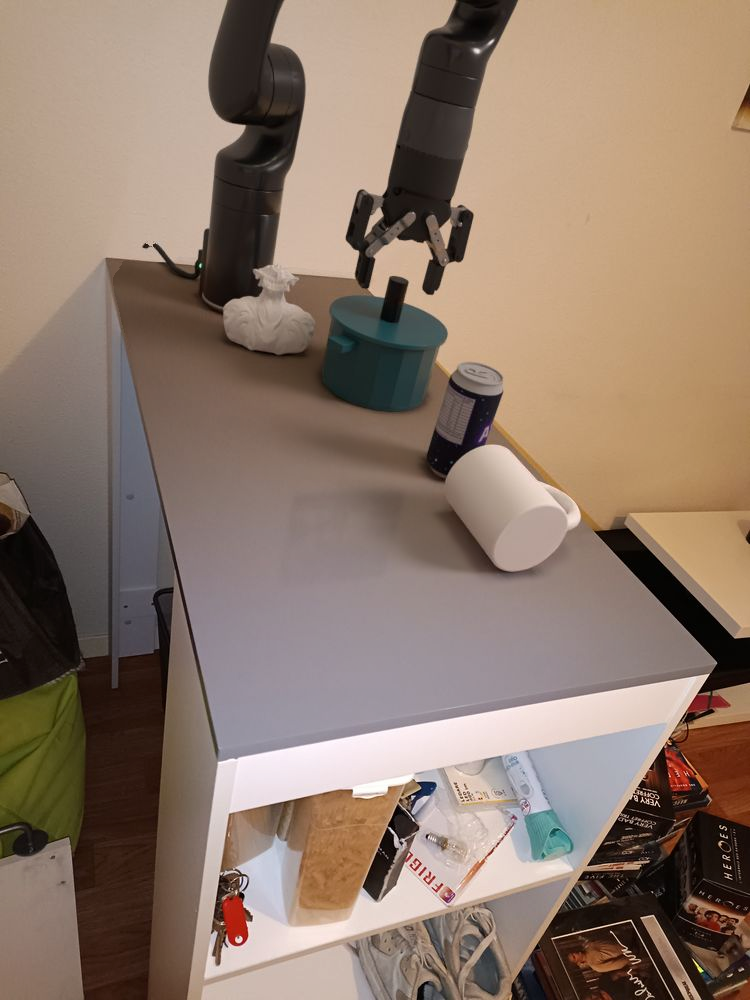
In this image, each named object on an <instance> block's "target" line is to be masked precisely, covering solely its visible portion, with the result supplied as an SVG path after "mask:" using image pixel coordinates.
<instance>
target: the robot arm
mask: <svg viewBox="0 0 750 1000" xmlns="http://www.w3.org/2000/svg"><path fill="white" fill-rule="evenodd" d="M285 1H286V0H226V3H225V6H224V10H223V13H222V18H221V20H220V24H219V27H218V29H217V32H216V33H217V34H216V37H215V40H214V43H213V48H212V50H211V51H212V52H211V56H210V60H209V67H208V76H207V79H208V80H207V89H208V96H209V101H210V103H211V107H212V109H213V111H214V112H215V114H216V115H217V116H218V117H219V118H220V119H221V120H222V121H224V122H226V123H229V124H231V125H238V126H239V125H240V126H245V127H244V129H243V132H242V133H241V135H240V136H239V137H238V138H237V139H236V140H235V141H233V142H231V143H229V144H228V145H227V146H225V147H222V148H221V149H220V150H219V151H218V152H217V153H216V155H215V158H214V159H215V160H214V167H213V168H214V169H213V181H212V192H211V204H210V214H209V225H208V228H207V227H206V228H205V229H204V230H203V239H202V248H201V249H200V248H199V249H198V252H197V259H196V261H195V262H194V272H193V273H190V272H187V271H185V270H183V269H181V268H179V267H178V266H177V265H176V264H175V263H174V261H173V260H172V259H171V258H170V256H169V255H168V254H167V252H166V251H165V250H164V249H163V248H162V246H160V245H159V244H158V243H157V242H155V244H153V247H154V248H153V247H152V246H149V245H148V244H146V242H145V243H143V245H142V247H141V248H142V249H144V250H145V249H146V250H148V249H149V248H153V249H155V250H156V251H157V252H158V254H159V256H161V258H162V260H163V261H164V262H165V263H166V264H167V266H169V268H170V270H171V271H172V272H174V273H175V274H178V275H179V276H181V277H183V278H185V279H187V280H188V279H189V280H196V279H198V278H199V284H198V296H200V297H201V301H202V303H203V304H204V305H205V306H206V307H208V308H210V309H211V310H212V311H216V312H218V313H220V314H221V313H222V314H223V313H224V311H223V307H224V306H225V305H226V304H227V303H228V302H229V301H231V300H232V299H240V298H242V297H246V296H252V297H259V295H260V294H261V293H262V290H263V287H262V286H258V284H259V282H260V278H259V279H256V278H255V277H256V276H255V274H254V273H253V269H257V270H258V269H260V268H264V267H266V266H267V265H273V264H274V262H275V253H276V249H277V248H276V247H277V239H278V232H279V226H280V218H281V211H282V204H283V197H284V191H285V183H286V178H287V175H288V174H289V172H290V171H291V169H292V166H293V164H294V160H295V157H296V151H297V146H298V141H299V136H300V131H301V127H302V121H303V115H304V111H305V104H306V96H307V95H306V93H307V91H306V90H307V83H306V74H305V70H304V69H305V68H304V66H303V62H302V61H301V58H300V57H299V56H298V54H297V53H296V52H295V51H294V50H293V49H291V48H290V47H288V46H286V45H283V44H279V43H275V42H272V37H273V33H274V30H275V28H276V27H275V26H276V23H277V20H278V17H279V14H280V12H281V9H282V7H283V5H284V3H285ZM518 2H519V0H455V2H454V4H453V8H452V10H451V12H450V14H449V16H448V19H447V20H446V23H445V24H444V25H443V26H441V27H437V28H434V29H430V30H429V31H427V33H426V34H425V35H424V37H423V39H422V42H421V44H420V45H421V46H420V49H419V53H418V56H417V61H416V66H415V69H414V74H413V78H412V83H411V86H410V91H409V95H408V98H407V100H406V104H405V106H404V109H403V113H402V116H401V121H400V124H399V125H400V126H399V130H398V134H397V139H396V142H395V146H394V151H393V156H392V161H391V165H390V169H389V173H388V174H389V175H388V179H387V186H386V189H385V191H384V192H383V193H382V195H378V194H375V193H374V194H373V193H369V191H367V190H365V189H363V188H361V189H359V190H358V191H357V193H356V196H355V199H354V203H353V207H352V211H351V214H350V217H349V222H348V225H347V230H346V233H345V237H344V238H345V242H347V243H348V245H350V247H351V248H352V249H353V250H354V251H357V252H358V257H357V262H356V267H355V271H354V278H355V280H356V281H357V284H358V286H359V287H360V288H361V289H366V290H368V289H369V288H370V285H371V282H372V277H373V272H374V268H375V264H376V260H377V259H376V258H375V255H377V253H379V251H381V250H382V249H383V248H384V247H385V246H388V245H390V244H391V243H392V242H393V241H394V240H395V239H396V238H397V240H399V241H403V242H407V241H413V242H416V243H419V244H424V243H426V245H427V246H428V249H429V252H430V254H431V257H432V259H428V263H427V267H426V271H425V274H424V278H423V282H422V285H421V290H422V291H423V292H424V293H425V295H428V296H434V294H435V291H436V292H437V291H438V290H439V289H440V287H441V284H442V279H443V276H444V273H445V269H446V267H447V265H449V264H451V263H461V262H463V260H464V259H465V254H466V250H467V245H468V242H469V236H470V234H471V233H470V232H471V229H472V226H473V221H474V218H475V215H474V214H475V213H473V211H472V210H470V209H469V208H468V207H466V206H465V205H463V204H458V205H457V206H456V207H455V206H452V205H451V204H452V199H453V197H454V196H455V193H456V190H457V186H458V182H459V180H460V179H459V178H460V175H461V171H462V168H463V164H464V160H465V157H466V154H467V151H468V148H469V142H470V138H471V134H472V130H473V125H474V118H475V112H476V107H477V104H478V101H479V100H478V99H479V96H480V93H481V89H482V85H483V81H484V79H485V75H486V70H487V66H488V63H489V60H490V58H491V57H492V55H493V53H494V51H495V50H496V48H497V46H498V44H499V43H500V40H501V38H502V36H503V34H504V32H505V31H506V28H507V26H508V24H509V21H510V19H511V17H512V15H513V13H514V12H515V9H516V8H517V5H518ZM378 209H380V211H381V214H382V217H381V218H379V219H378V221H376V222H375V224H374V225H372V227H371V229H370V231H369V232H368V233H366V232H367V230H368V225H369V221H370V218H371V216H373V215H374V214H376V211H377V210H378ZM448 221H449V223H450V225H451V229H450V234H449V238H448V242H447V247H446V244H445V241H444V238H443V236H442V233H441V230H440V229H441V228H442V227H443V226H444V225H445V224H446V223H447V222H448ZM156 243H157V244H156Z"/></svg>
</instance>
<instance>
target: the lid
mask: <svg viewBox="0 0 750 1000" xmlns="http://www.w3.org/2000/svg"><path fill="white" fill-rule="evenodd" d="M409 283H410V282H409V280H408V279H407V278H405V277H402V276H398V275H391V276H389V277H388V282H387V285H386V290H385V294H384V297H382V296H376V295H365V294H364V295H363V294H361V295H360V294H359V295H357V294H355V295H347V296H346V295H345V296H341V297H338V298H336V299H334V300H333V301H332V302H331V304H330V306H329V311H328V313H329V316H330V318H331V319H332V320H333V321H334V322H335V323H336V324H337V325H338V326H339V327H341V328H342V329H344V330H345V331H347V332H349V333H350V334H352V335H354V336H357V337H359V338H361V339H364V340H366V341H369V342H372V343H375V344H379V345H383V346H387V347H391V348H397V349H404V350H429V349H434V348H437V347H440V348H441V347H442V346H443V345H444V344H445V343H446V342H447V339H448V337H449V331H448V328H447V327H446V325H445V324H444V323H443V322H442V321H441V320H439V318H437V317H435V316H434V315H433V314H431V313H429V312H427V311H425V310H424V309H421V308H419V307H416V306H414V305H411V304H409V303H406V302H405V300H406V295H407V291H408V287H409Z"/></svg>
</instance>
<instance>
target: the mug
mask: <svg viewBox="0 0 750 1000" xmlns="http://www.w3.org/2000/svg"><path fill="white" fill-rule="evenodd" d="M443 492H444V497H445V499H446V501H447V503H448V504H449V505H450V506H451V508H452V509H453V511H454V512H455V513H456V515H457V516H458V518H459V519H460V520H461V522H462V523H463V524H464V526H465V527H466V528H467V530H468V531H469V532H470V533H471V535H472V536H473V537H474V540H476V542H477V543H478V545H479V546H480V547H481V549H483V551H484V552H485V554H486V555H487V556H488V558H489V559H490V561H491V562H492V563H493V565H494V566H495V567H496V568H498V569H500V570H501V571H505V572H513V573H515V572H523V571H525V570H528V569H532V568H533V567H535V566H537V565H539V564H541V563H543V562H544V561H545V560H546V559H548V557H550V556H552V554H554V552H555V551H556V550H557V549H558V548H559V546H560V545H561V544H562V542H563V540H564V538H565V537H566V535H567V532H568V531H572V530H573V529H575V528H576V527H578V525H579V524H580V522H581V519H582V518H581V517H582V516H581V511H580V508H579V507H578V504H577V503H576V502H575V501H574V499H573V498H572V497H570V495H568V494H566V493H565V492H564V491H562V490H560V489H558V488H556V487H554V486H552V485H550V484H548V483H545V482H542V481H539V480H537V478H536V477H535V476H534V475H533V473H531V472H530V471H529V470H528V468H527V467H526V466H525V465H524V464H523V463H522V462H521V461H520V459H518V458H517V456H516V455H515V454H514V453H513V452H512V451H511V450H510V449H509V448H507V447H505V446H503V445H500V444H485V445H484V446H481V447H478V448H475V449H473V450H471V451H469V452H468V453H466V454H465V455H464V456H462V457H461V458H460V459H459V460H458V461H457V462H456V463H455V464H454V466H453V467H452V468H451V470H450V471H449V473H448V475H447V478H446V479H445V482H444V491H443Z"/></svg>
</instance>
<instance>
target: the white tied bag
mask: <svg viewBox="0 0 750 1000" xmlns="http://www.w3.org/2000/svg"><path fill="white" fill-rule="evenodd" d="M253 273H254V274H255V276H256V277H255V278H256V279H259V278H260V282H259V284H258V286H262V287H263V290H262V293H261V294H260V295H259V297H252V296H246V297H242V298H240V299H232V300H231V301H229V302H228V303H227V304H226V305H225V306H224V307H223V311H224V313H222V314H223V315H222V321H223V327H224V332H225V335H226V337H227V339H228V340H230V341H231V342H233V343H235V344H238V345H241V346H243V347H244V348H246V349H248V350H249V351H259V352H266V353H271V354H275V356H282V355H285V354H299V353H302V352H304V351H305V350H306V349H307V347H308V346H309V344H310V342H311V340H312V338H313V336H314V331H315V328H316V321H315V319H314V318H313V316H312V315H311V313H309V312H308V311H305V310H303V309H302V307H300V306H298V305H297V304H294V303H289V302H287V300H286V297H285V292H288V293H290V292H291V290H290V286H292V287H295V284H296V283H297V282H298V281H299V280H300V279H299V277H298V276H294V274H292V273H291V272H290V271H289V270H288V269H287V268H286V267H283V265H279V263H276V264H274V263H273V265H267V266H266V267H264V268H260V269H258V270H257V269H253Z"/></svg>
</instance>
